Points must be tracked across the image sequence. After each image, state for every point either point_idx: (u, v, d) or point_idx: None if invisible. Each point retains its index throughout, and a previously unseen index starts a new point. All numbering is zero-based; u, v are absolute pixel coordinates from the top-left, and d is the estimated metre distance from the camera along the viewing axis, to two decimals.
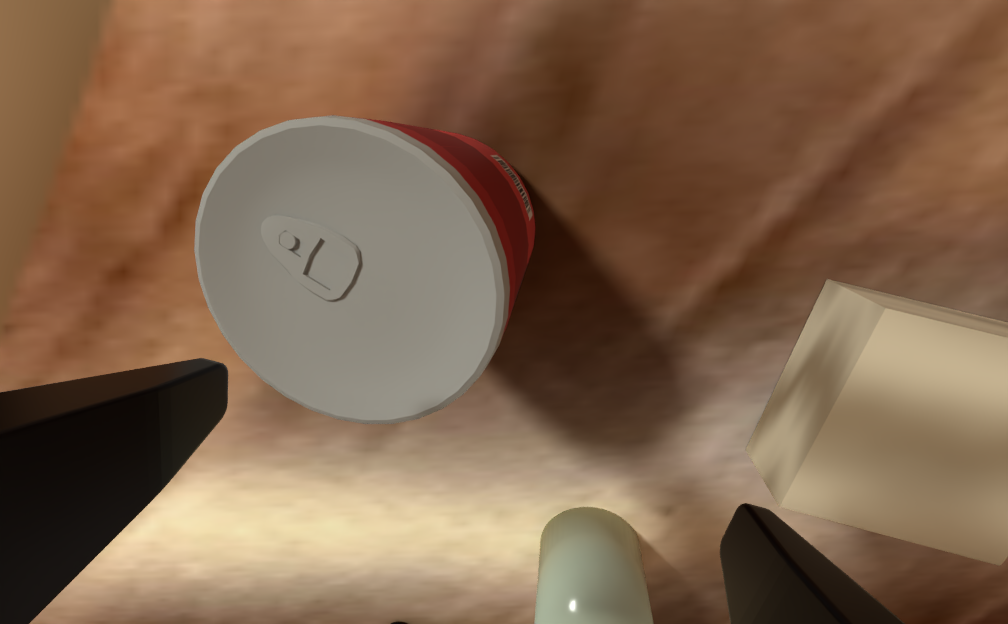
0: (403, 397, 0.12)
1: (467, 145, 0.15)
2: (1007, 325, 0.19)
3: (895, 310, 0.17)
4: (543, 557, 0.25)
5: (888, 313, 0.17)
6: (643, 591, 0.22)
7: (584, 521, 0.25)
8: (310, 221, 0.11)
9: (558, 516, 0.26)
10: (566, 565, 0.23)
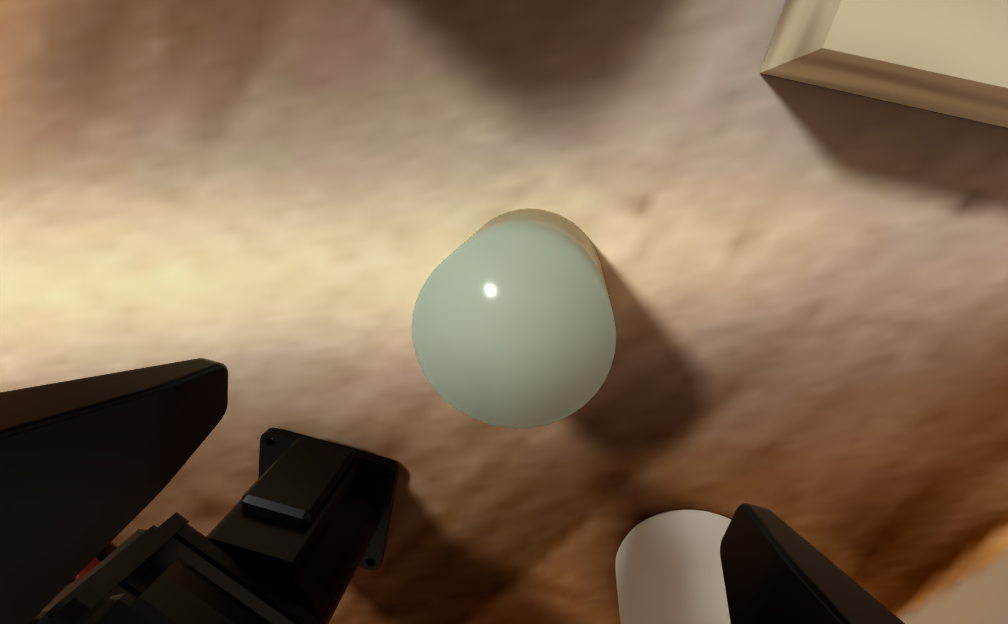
0: None
1: None
2: None
3: None
4: None
5: None
6: (596, 267, 0.14)
7: (515, 213, 0.17)
8: None
9: (482, 226, 0.18)
10: (476, 234, 0.14)
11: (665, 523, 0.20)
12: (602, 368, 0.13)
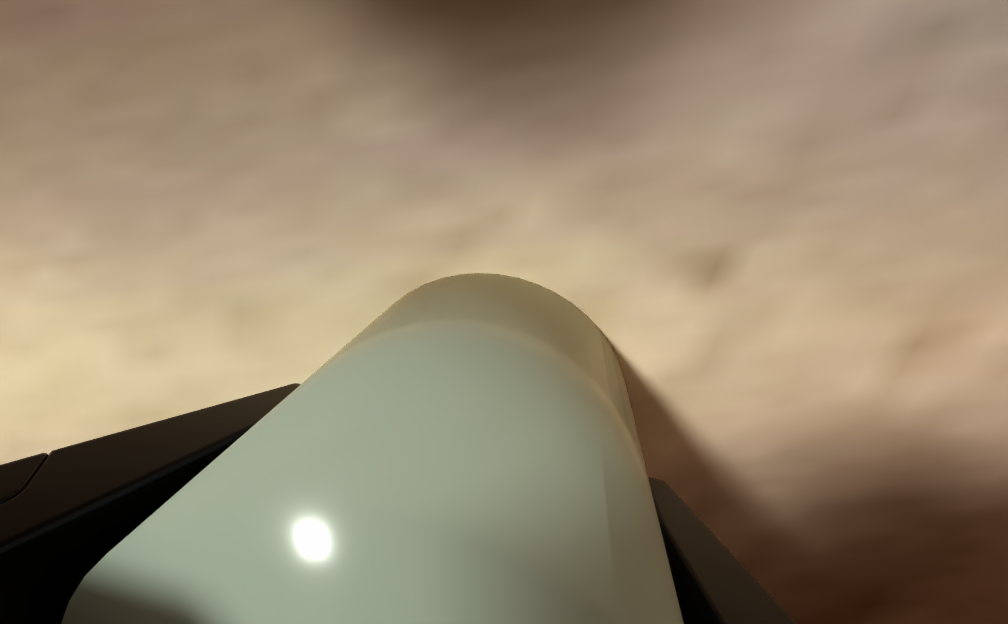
0: None
1: None
2: None
3: None
4: None
5: None
6: (634, 477, 0.05)
7: (447, 291, 0.08)
8: None
9: (389, 307, 0.09)
10: (317, 378, 0.05)
11: None
12: None
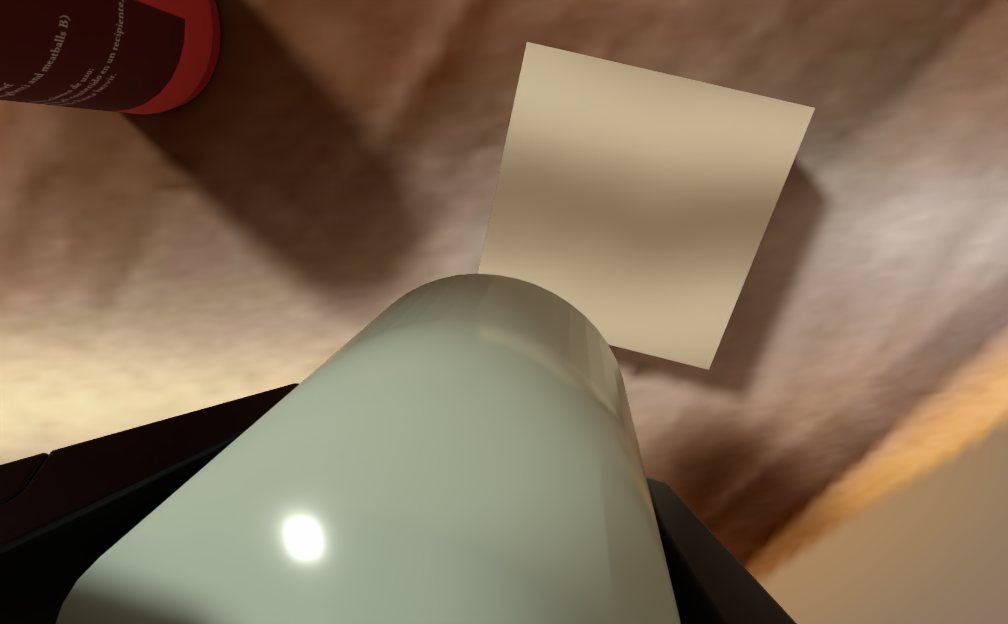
0: None
1: None
2: None
3: (540, 46, 0.15)
4: None
5: (531, 49, 0.15)
6: (632, 479, 0.05)
7: (445, 292, 0.08)
8: None
9: (387, 308, 0.09)
10: (313, 378, 0.05)
11: None
12: None
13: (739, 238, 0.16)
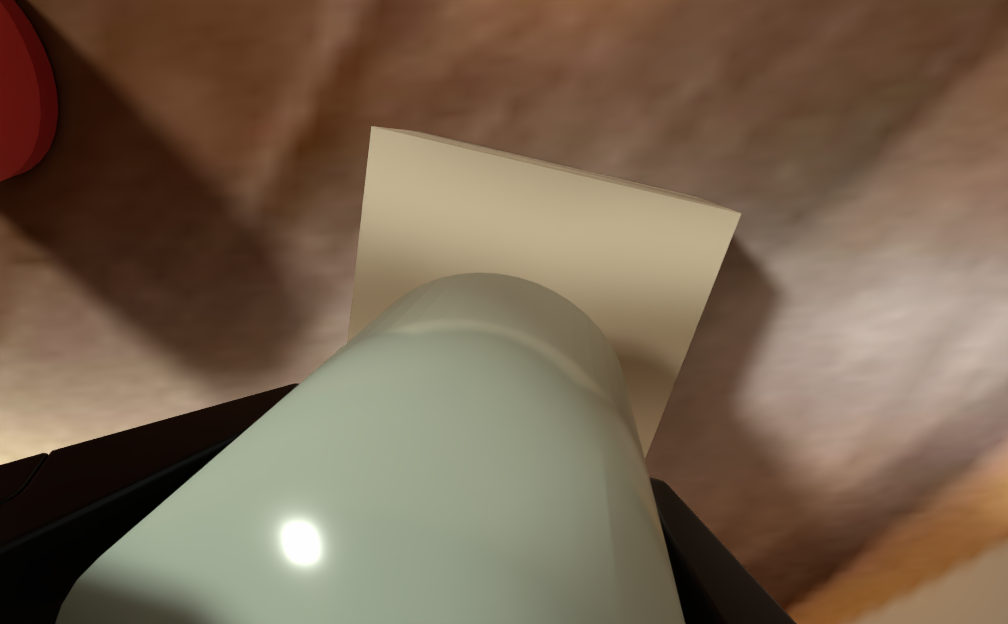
0: None
1: None
2: (631, 182, 0.14)
3: (389, 130, 0.12)
4: None
5: (377, 134, 0.12)
6: (636, 478, 0.05)
7: (446, 290, 0.08)
8: None
9: (388, 307, 0.09)
10: (315, 377, 0.05)
11: None
12: None
13: (653, 365, 0.12)
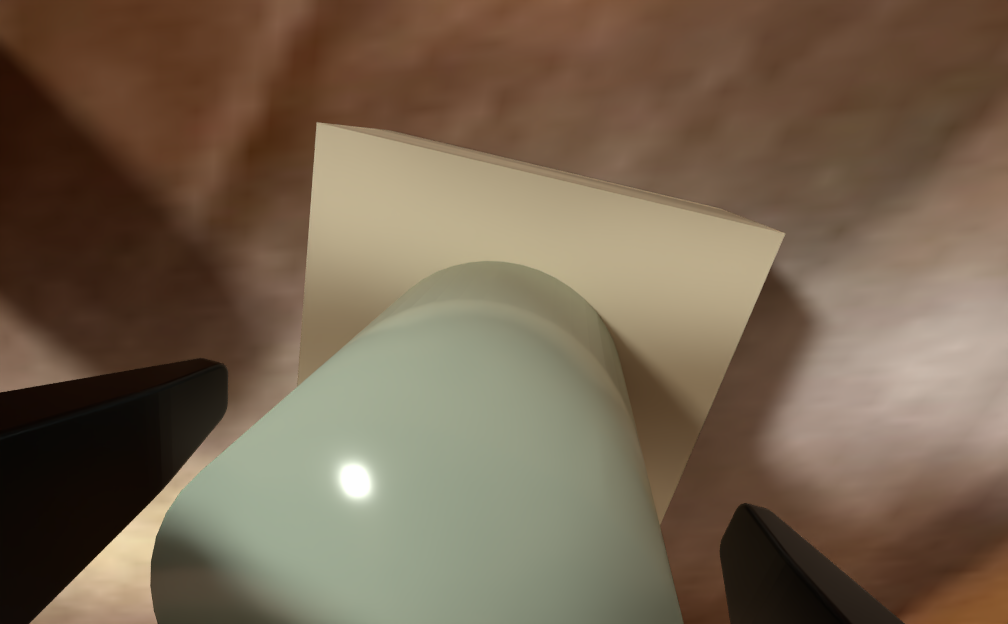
0: None
1: None
2: (641, 191, 0.12)
3: (340, 128, 0.09)
4: None
5: (324, 133, 0.09)
6: (624, 428, 0.06)
7: (459, 276, 0.09)
8: None
9: (405, 292, 0.10)
10: (351, 345, 0.06)
11: None
12: None
13: (670, 418, 0.10)
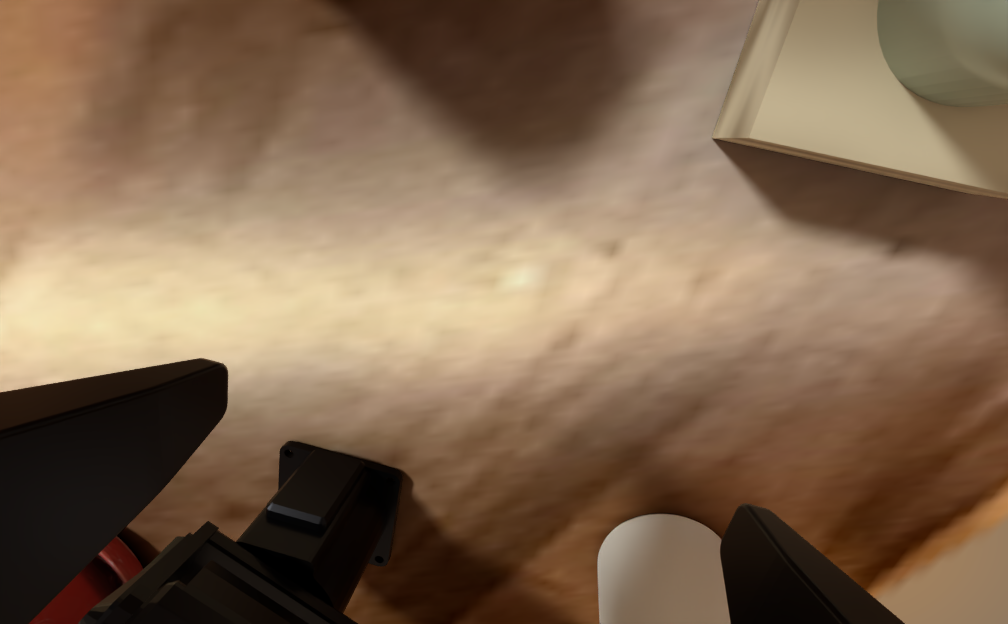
0: None
1: None
2: None
3: None
4: None
5: None
6: None
7: None
8: None
9: None
10: None
11: (639, 526, 0.22)
12: None
13: None
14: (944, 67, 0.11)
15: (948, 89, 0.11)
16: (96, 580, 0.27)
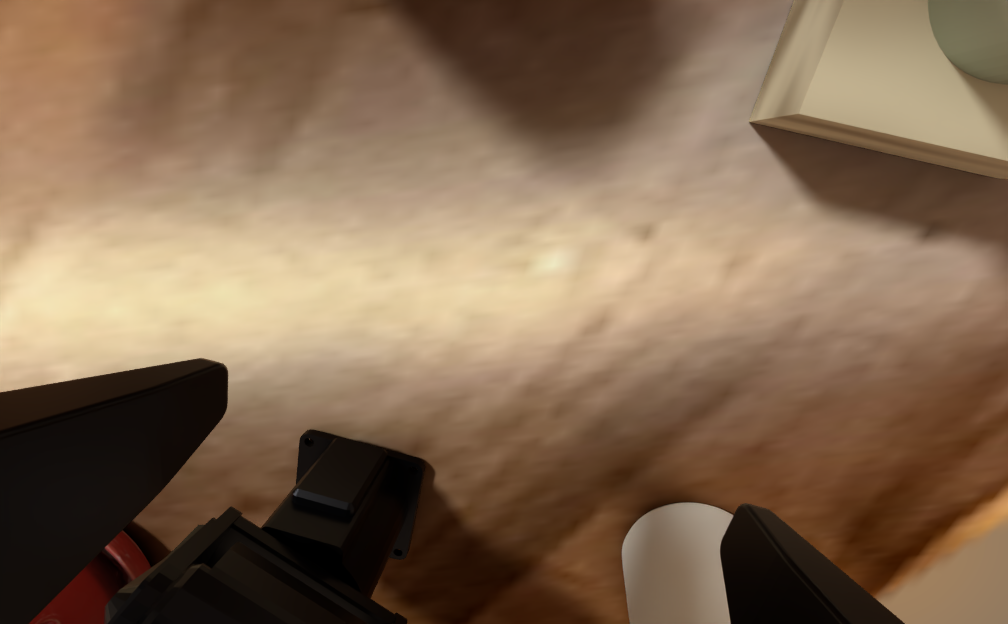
0: None
1: None
2: None
3: None
4: None
5: None
6: None
7: None
8: None
9: None
10: None
11: (667, 515, 0.22)
12: None
13: None
14: (1001, 39, 0.11)
15: (1001, 63, 0.12)
16: (102, 576, 0.26)
